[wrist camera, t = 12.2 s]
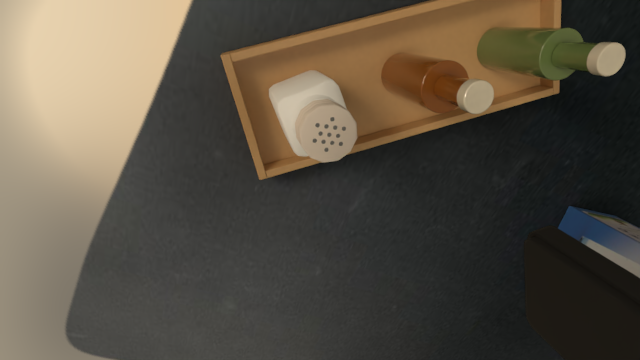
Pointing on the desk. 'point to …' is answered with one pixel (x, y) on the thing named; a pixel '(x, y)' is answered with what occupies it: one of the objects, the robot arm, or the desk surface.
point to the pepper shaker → (314, 116)
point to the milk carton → (605, 236)
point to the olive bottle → (547, 52)
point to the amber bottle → (435, 84)
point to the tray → (366, 66)
